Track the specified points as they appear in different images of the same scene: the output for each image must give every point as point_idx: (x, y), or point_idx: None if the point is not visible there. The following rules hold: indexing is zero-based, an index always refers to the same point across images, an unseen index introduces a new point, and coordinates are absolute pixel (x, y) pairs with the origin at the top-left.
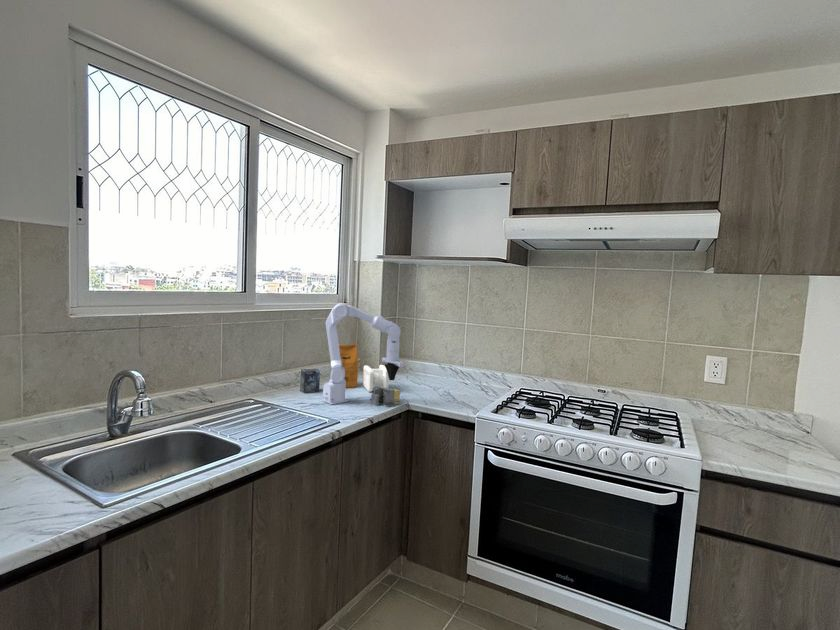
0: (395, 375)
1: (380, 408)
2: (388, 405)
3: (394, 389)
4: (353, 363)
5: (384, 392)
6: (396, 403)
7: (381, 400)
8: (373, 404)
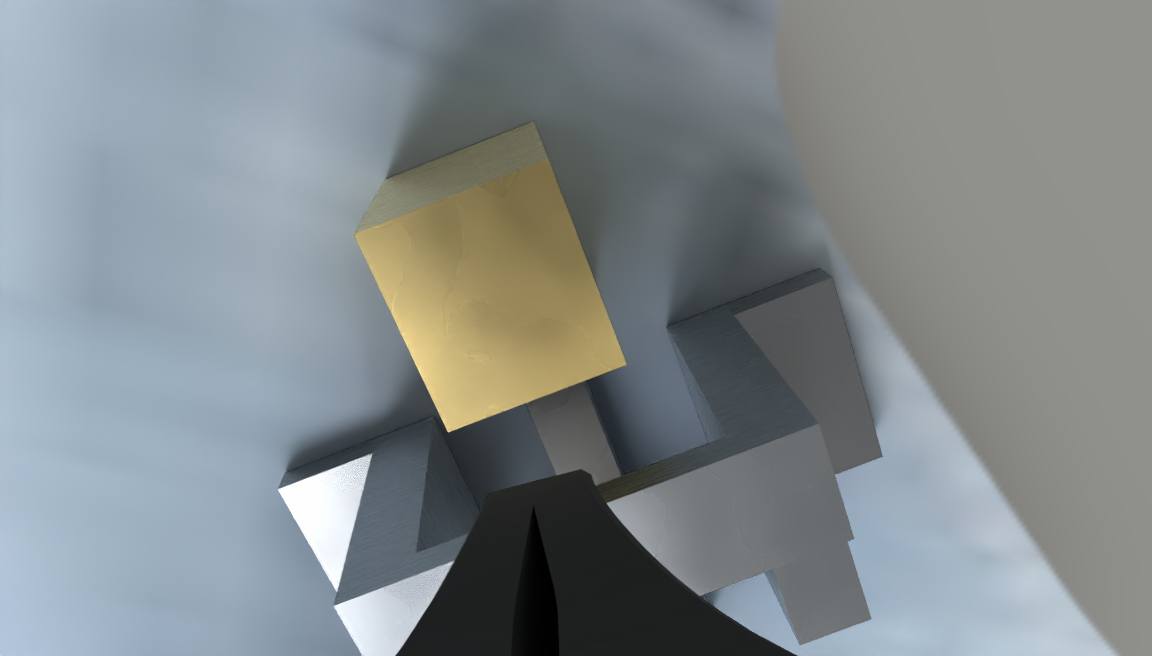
0: (625, 532)
1: (881, 574)
2: (870, 459)
3: (415, 269)
4: None
5: (818, 635)
6: (809, 291)
7: None
8: None
